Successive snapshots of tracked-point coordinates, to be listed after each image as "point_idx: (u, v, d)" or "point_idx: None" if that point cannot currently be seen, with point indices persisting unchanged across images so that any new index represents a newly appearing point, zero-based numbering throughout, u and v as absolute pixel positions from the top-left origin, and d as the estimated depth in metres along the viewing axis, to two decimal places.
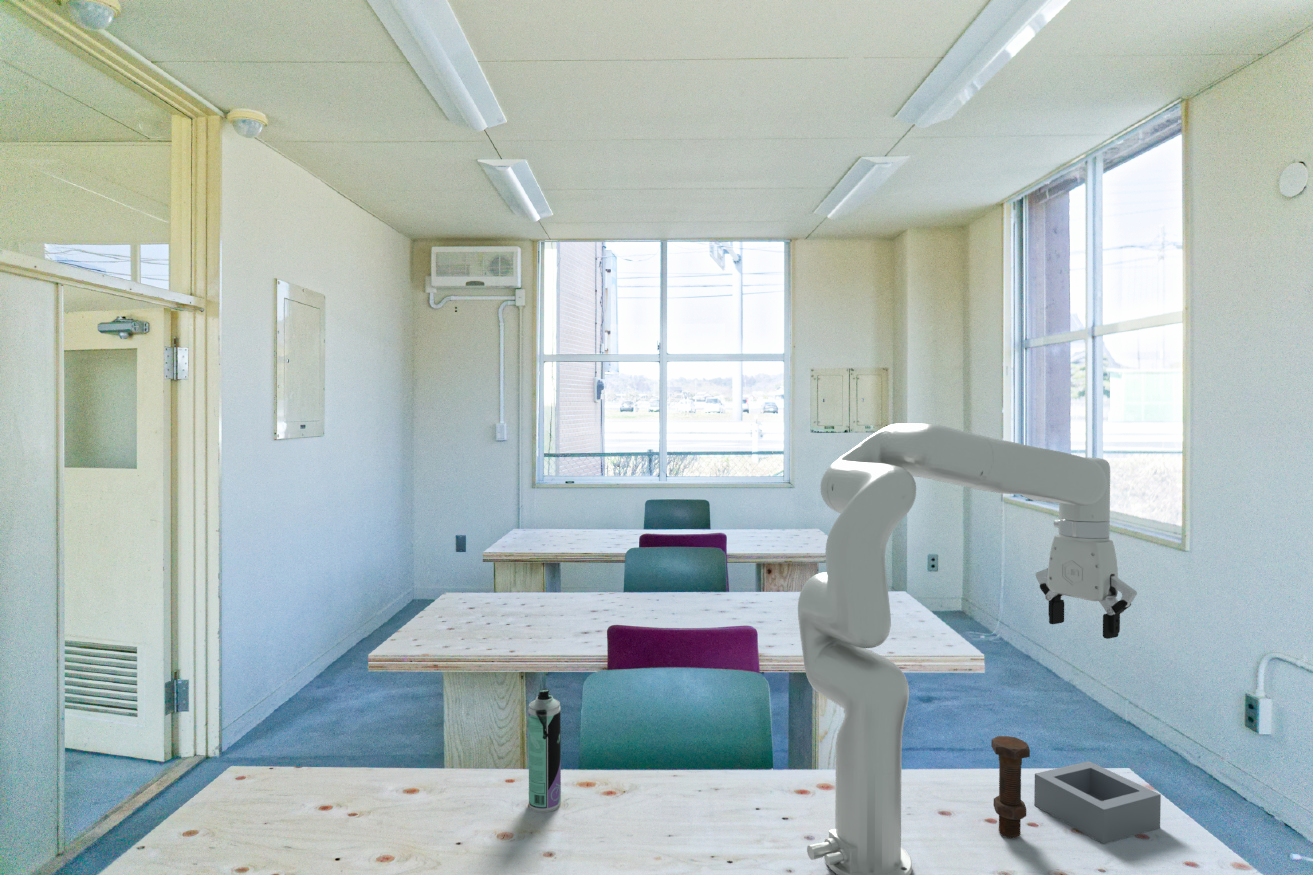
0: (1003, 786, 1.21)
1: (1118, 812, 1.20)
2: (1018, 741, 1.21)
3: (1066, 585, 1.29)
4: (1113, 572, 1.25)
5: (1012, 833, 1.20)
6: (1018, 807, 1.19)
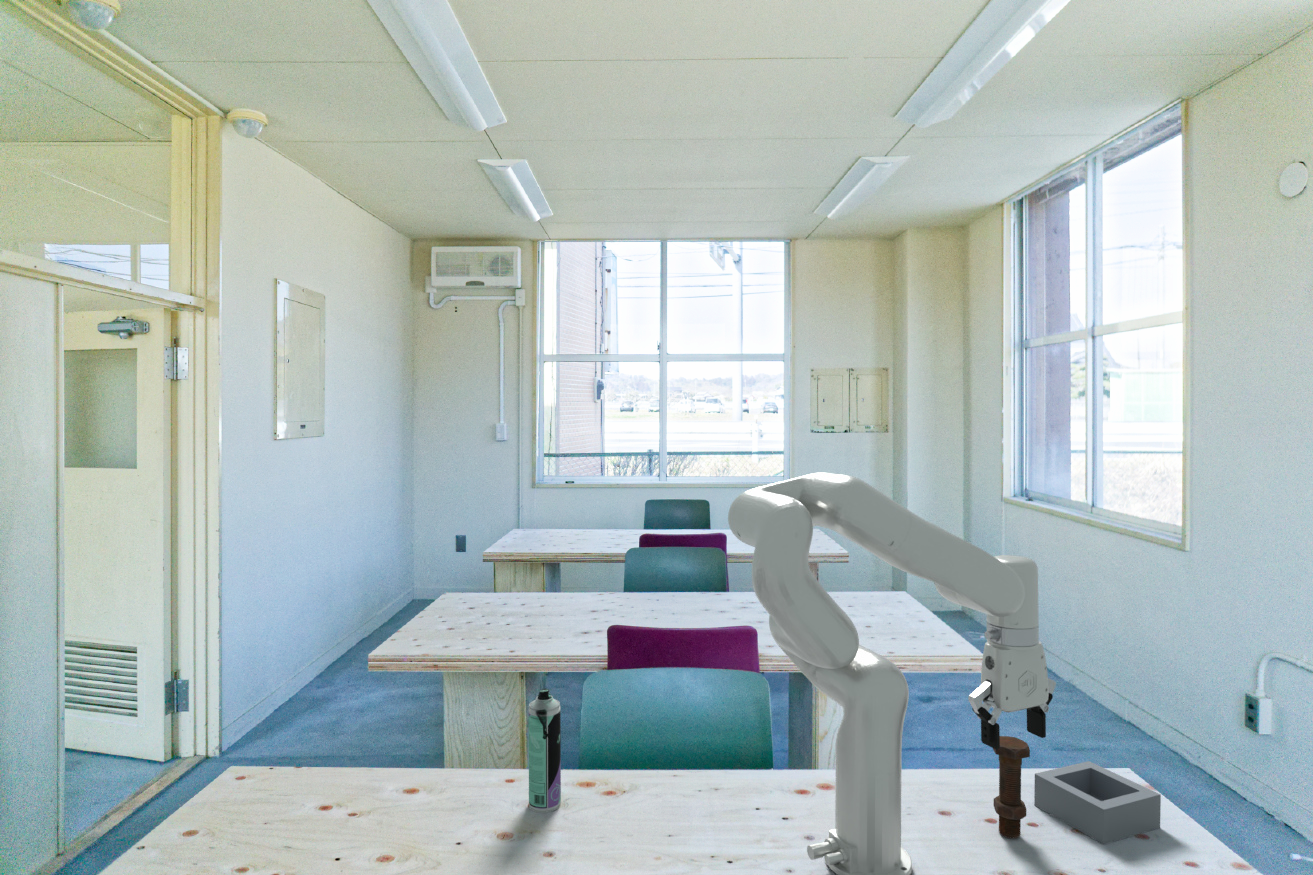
0: (1003, 786, 1.21)
1: (1118, 812, 1.20)
2: (1018, 741, 1.21)
3: (1022, 699, 1.18)
4: None
5: (1012, 833, 1.20)
6: (1018, 807, 1.19)
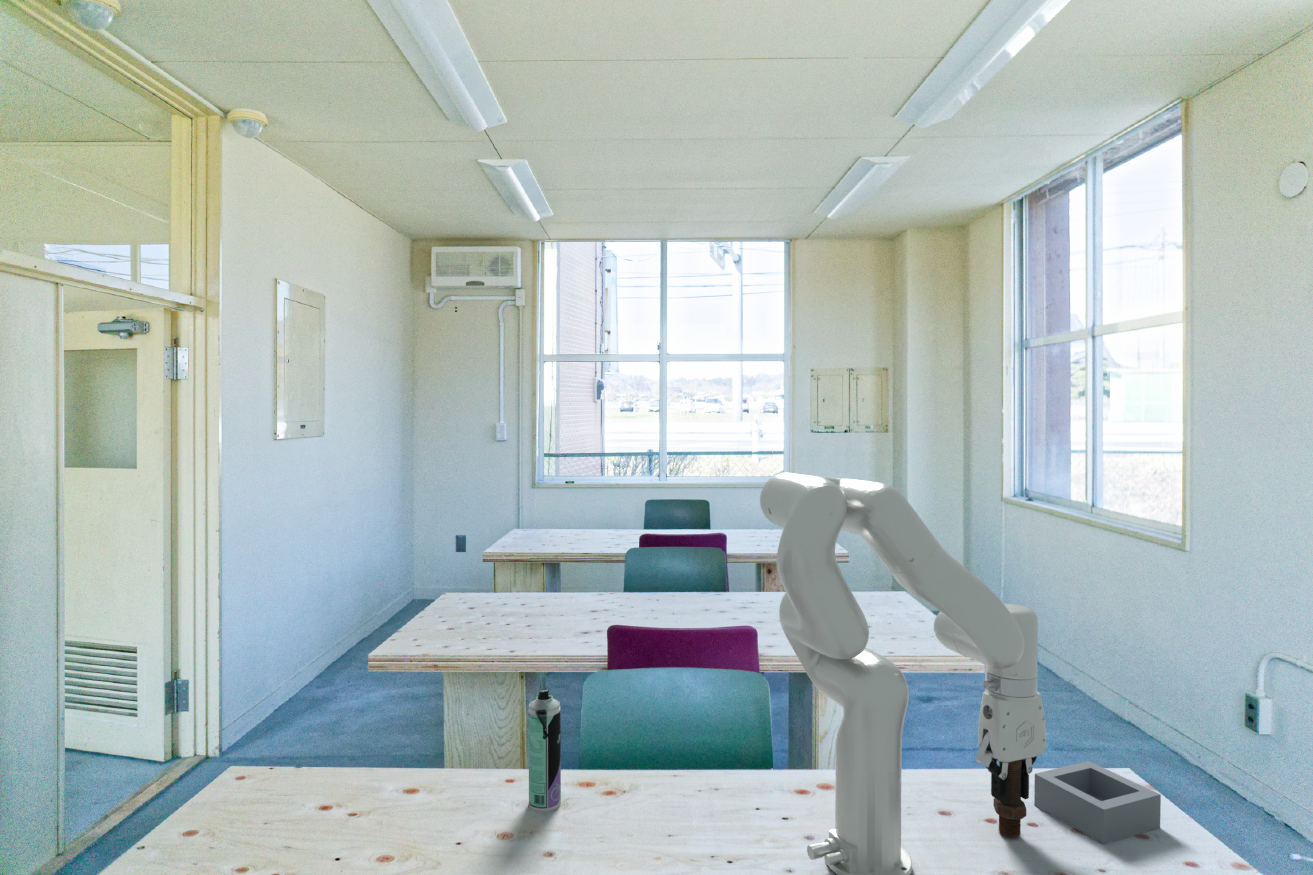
0: None
1: (1118, 812, 1.20)
2: None
3: (1019, 750, 1.18)
4: None
5: (1012, 833, 1.20)
6: (1018, 807, 1.19)
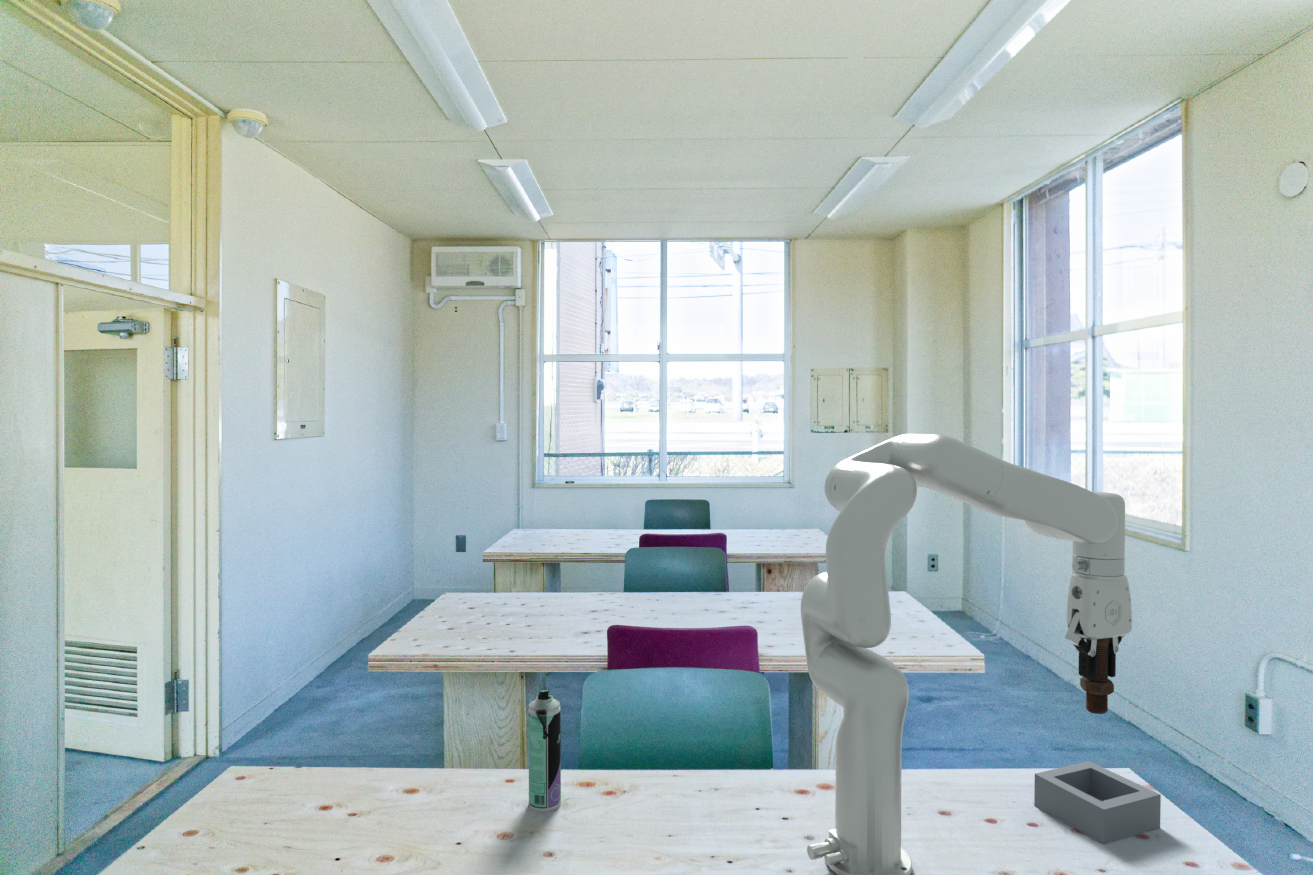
0: None
1: (1118, 812, 1.20)
2: None
3: (1108, 627, 1.23)
4: None
5: (1100, 708, 1.25)
6: (1106, 683, 1.25)
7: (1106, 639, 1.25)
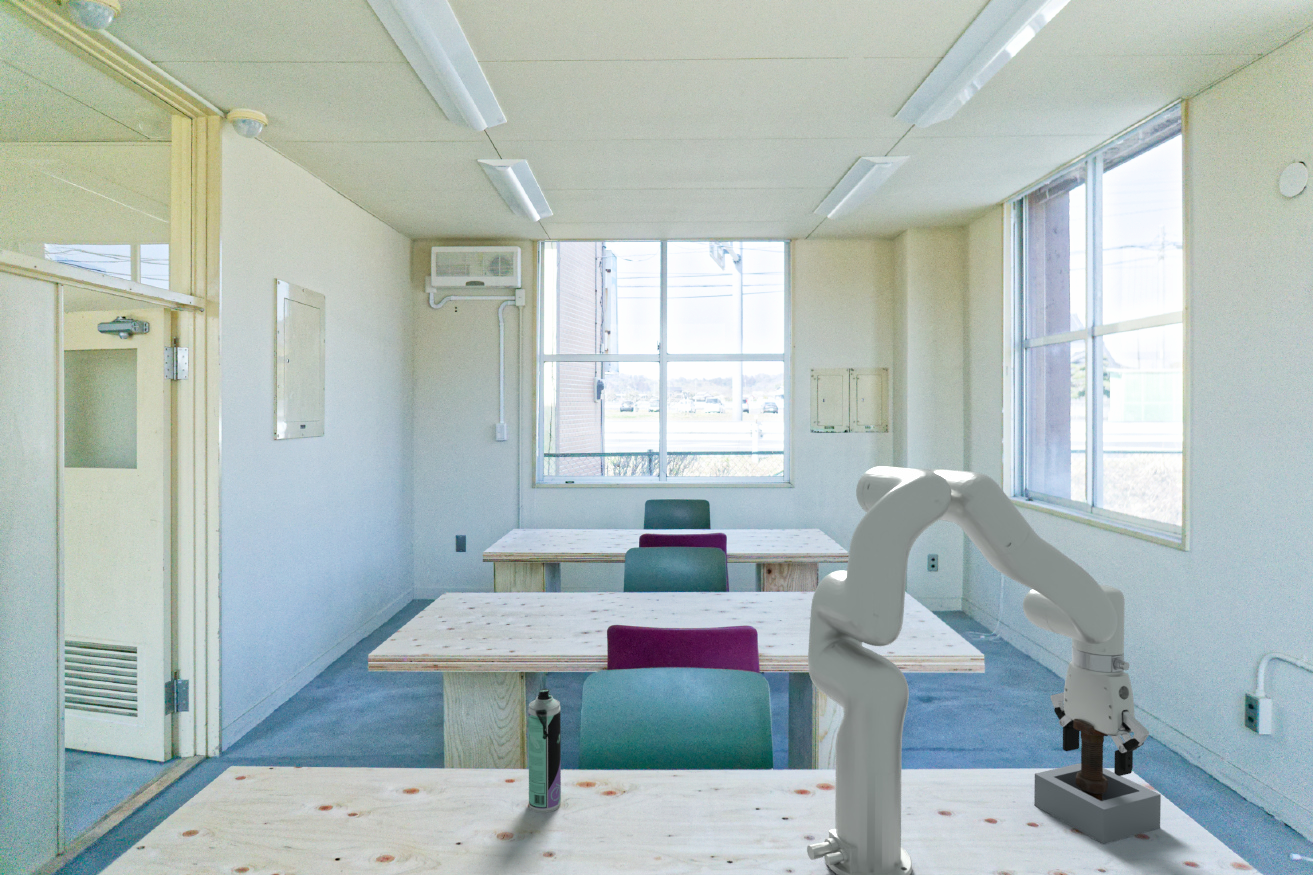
0: (1100, 764, 1.26)
1: (1118, 812, 1.20)
2: None
3: None
4: None
5: None
6: None
7: None
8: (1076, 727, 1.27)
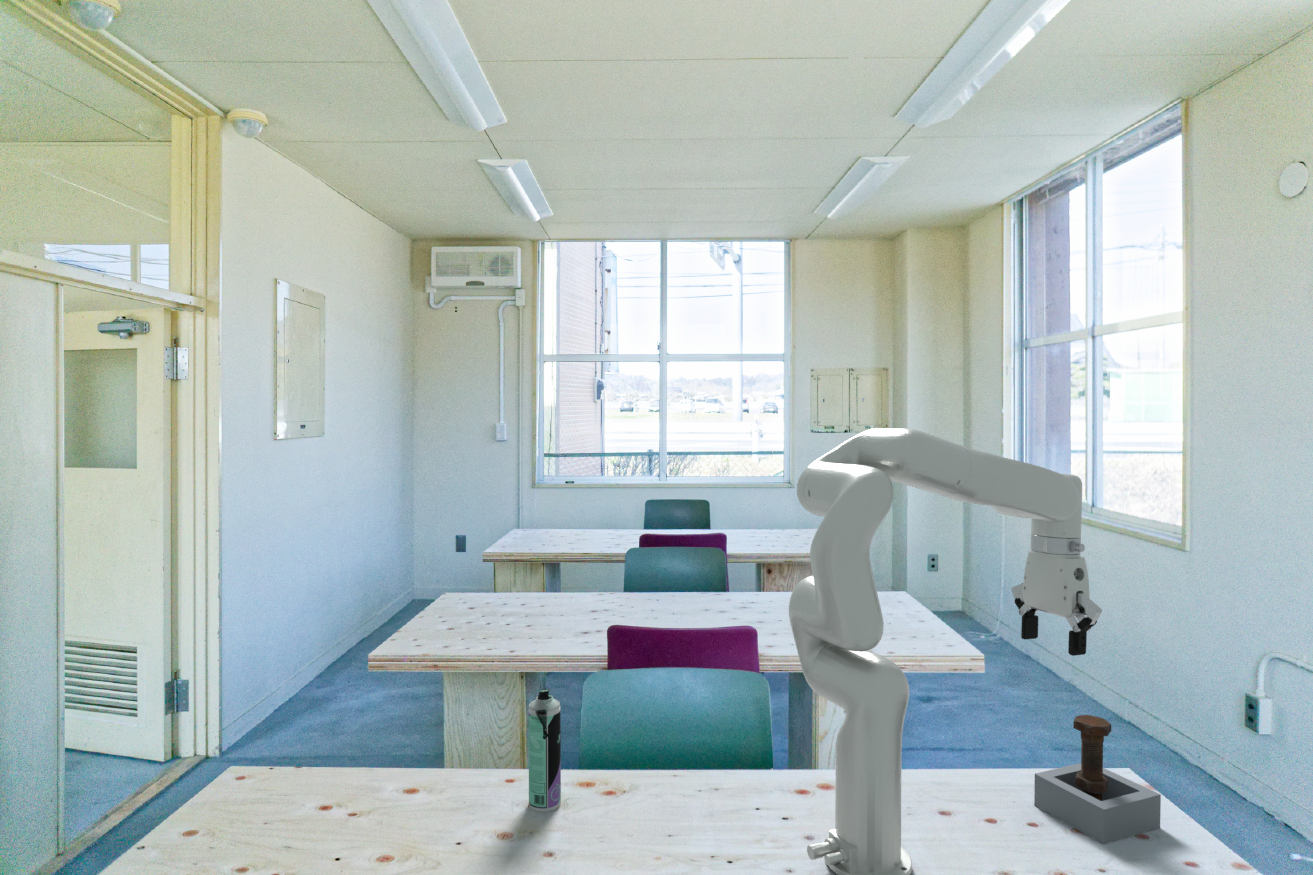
0: (1100, 764, 1.26)
1: (1118, 812, 1.20)
2: (1086, 717, 1.29)
3: None
4: None
5: None
6: None
7: None
8: (1076, 727, 1.27)
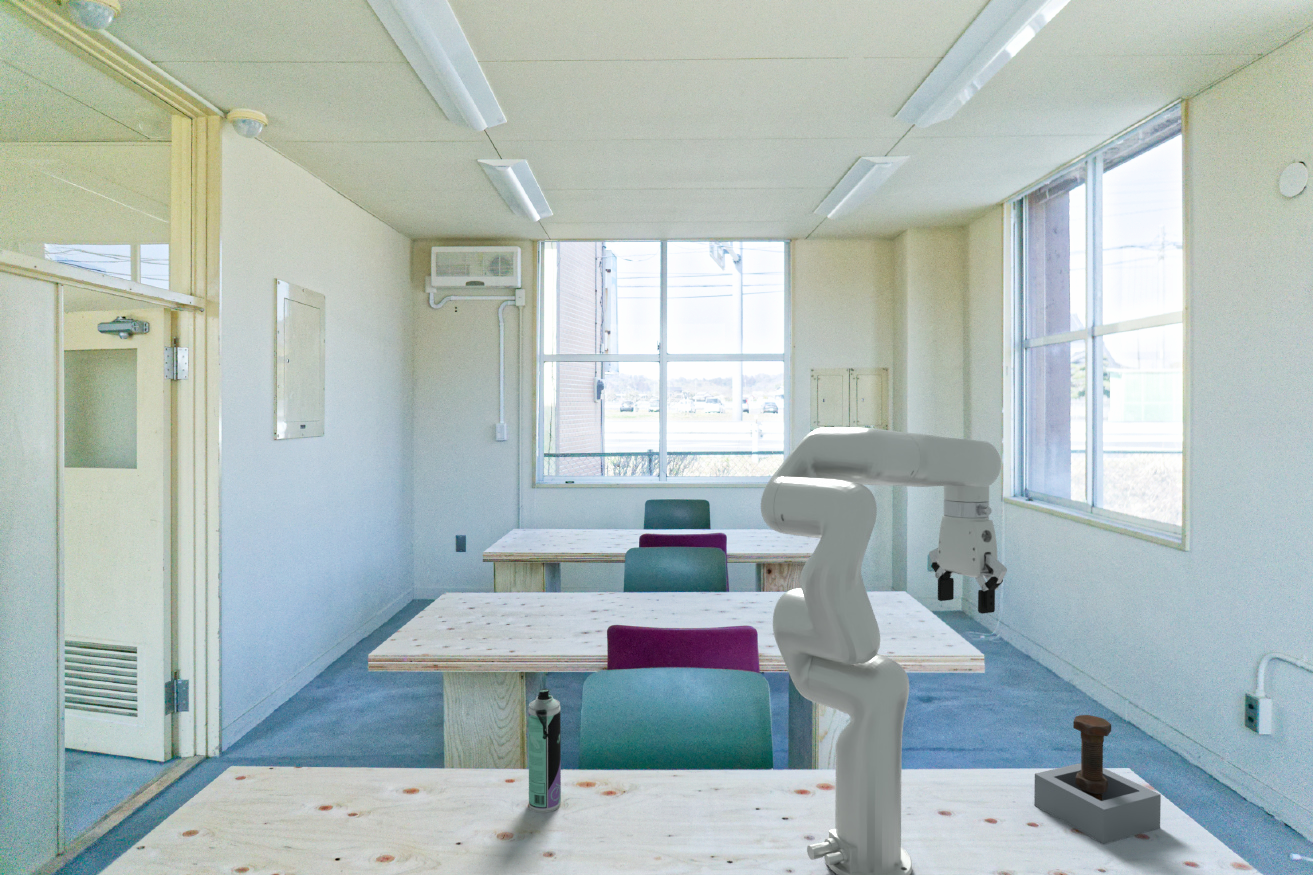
0: (1100, 764, 1.26)
1: (1118, 812, 1.20)
2: (1086, 717, 1.29)
3: None
4: None
5: None
6: None
7: None
8: (1076, 727, 1.27)
